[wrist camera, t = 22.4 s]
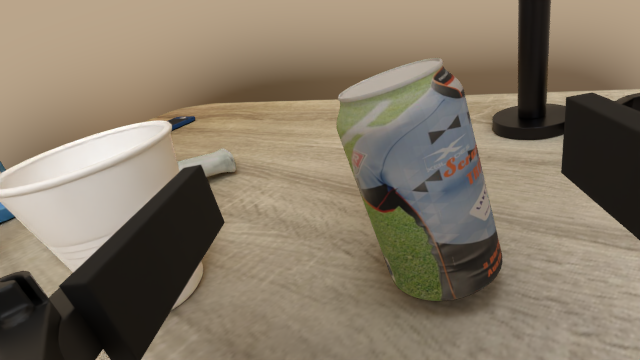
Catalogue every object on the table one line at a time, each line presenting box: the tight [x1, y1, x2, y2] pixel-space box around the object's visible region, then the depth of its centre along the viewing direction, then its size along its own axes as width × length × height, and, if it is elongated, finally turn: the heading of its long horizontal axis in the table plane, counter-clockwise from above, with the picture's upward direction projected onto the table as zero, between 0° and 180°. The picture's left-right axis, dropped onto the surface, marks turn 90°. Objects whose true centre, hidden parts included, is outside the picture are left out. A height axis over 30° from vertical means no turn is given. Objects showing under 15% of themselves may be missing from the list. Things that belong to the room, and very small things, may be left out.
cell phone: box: [167, 116, 195, 130], centre depth 75 cm, size 7×14×1 cm, turn 143°
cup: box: [0, 121, 203, 310], centre depth 23 cm, size 10×10×11 cm
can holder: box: [492, 0, 640, 140], centre depth 27 cm, size 13×20×17 cm, turn 59°
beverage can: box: [337, 58, 502, 301], centre depth 18 cm, size 6×7×12 cm
